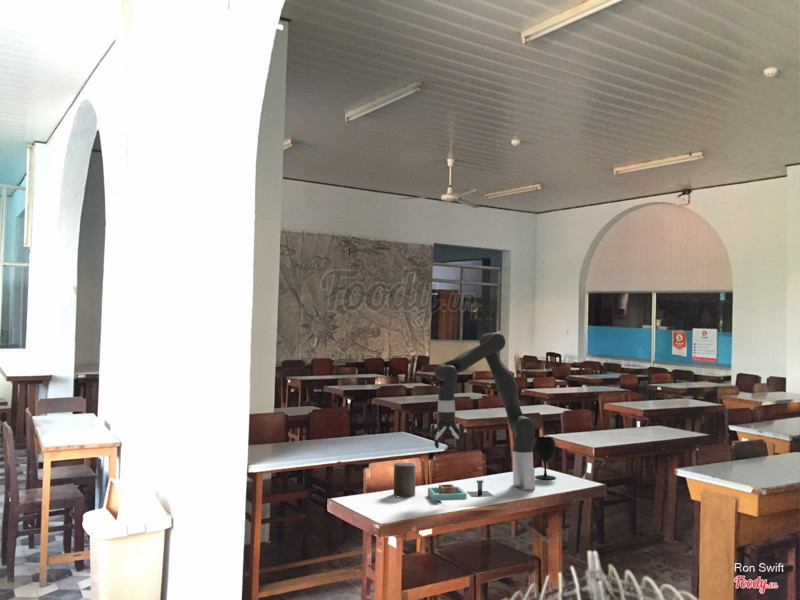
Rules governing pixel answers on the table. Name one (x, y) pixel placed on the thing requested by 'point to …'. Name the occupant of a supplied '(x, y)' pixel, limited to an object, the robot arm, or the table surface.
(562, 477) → the table surface
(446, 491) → the walnut collar
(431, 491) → the tray
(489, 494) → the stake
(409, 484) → the pillar candle
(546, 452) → the wine glass
